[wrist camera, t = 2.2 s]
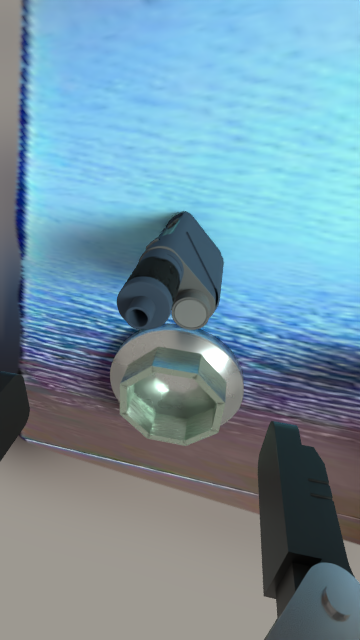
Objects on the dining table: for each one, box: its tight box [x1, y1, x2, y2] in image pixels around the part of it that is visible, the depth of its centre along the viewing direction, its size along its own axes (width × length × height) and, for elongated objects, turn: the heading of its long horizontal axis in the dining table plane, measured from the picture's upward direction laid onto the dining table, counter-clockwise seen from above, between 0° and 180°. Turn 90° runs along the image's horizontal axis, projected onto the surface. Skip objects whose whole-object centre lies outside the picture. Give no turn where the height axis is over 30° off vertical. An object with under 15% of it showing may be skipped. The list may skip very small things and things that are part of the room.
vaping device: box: [117, 211, 224, 330], centre depth 19 cm, size 3×5×12 cm, turn 40°
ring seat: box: [110, 324, 243, 446], centre depth 29 cm, size 12×12×4 cm
